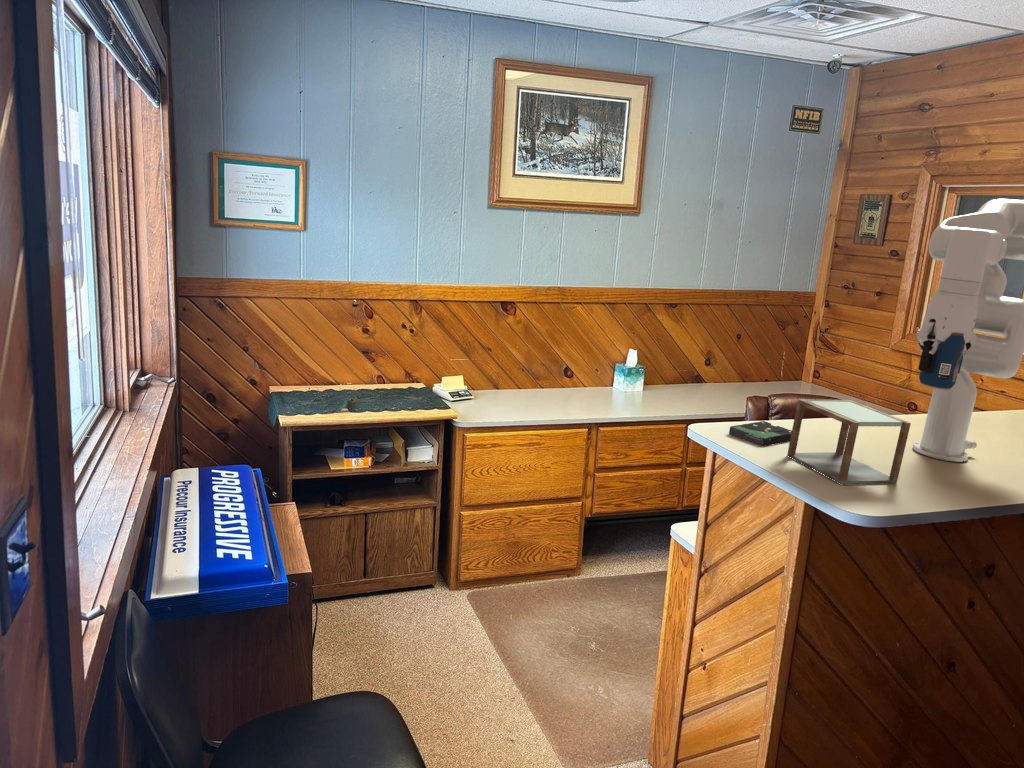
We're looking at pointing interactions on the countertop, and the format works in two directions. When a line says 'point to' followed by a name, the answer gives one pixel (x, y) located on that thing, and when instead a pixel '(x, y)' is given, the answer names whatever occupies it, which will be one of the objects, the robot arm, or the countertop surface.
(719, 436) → the countertop surface
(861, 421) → the trapdoor
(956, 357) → the soda can
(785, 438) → the disk drive
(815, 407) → the frame
